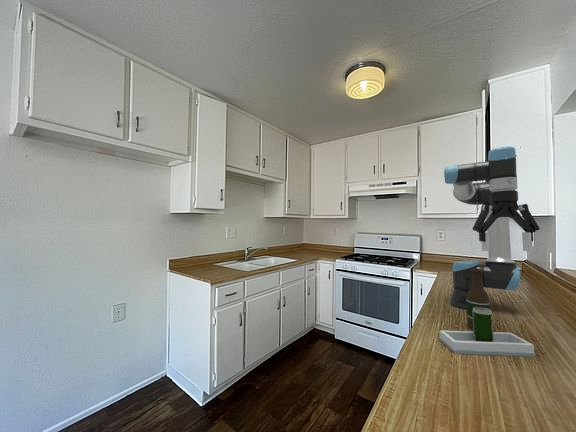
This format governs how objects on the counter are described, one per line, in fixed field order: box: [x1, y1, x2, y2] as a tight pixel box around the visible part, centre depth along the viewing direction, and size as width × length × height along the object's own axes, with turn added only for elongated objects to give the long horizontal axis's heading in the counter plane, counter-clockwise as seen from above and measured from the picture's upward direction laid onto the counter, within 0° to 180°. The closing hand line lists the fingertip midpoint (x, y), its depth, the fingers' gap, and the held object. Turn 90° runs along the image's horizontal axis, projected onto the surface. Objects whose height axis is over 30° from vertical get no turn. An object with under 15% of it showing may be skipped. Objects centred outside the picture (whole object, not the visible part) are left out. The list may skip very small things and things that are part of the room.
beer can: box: [472, 307, 494, 342], centre depth 85 cm, size 5×5×12 cm
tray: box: [438, 329, 536, 358], centre depth 85 cm, size 10×24×4 cm, turn 84°
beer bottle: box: [466, 268, 491, 330], centre depth 101 cm, size 8×8×24 cm
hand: (506, 251), depth 87 cm, fingers open, 13 cm apart
